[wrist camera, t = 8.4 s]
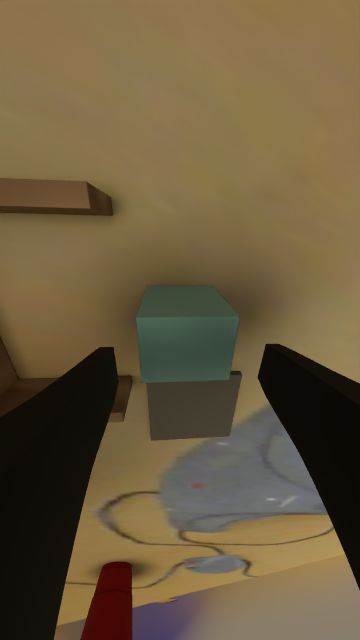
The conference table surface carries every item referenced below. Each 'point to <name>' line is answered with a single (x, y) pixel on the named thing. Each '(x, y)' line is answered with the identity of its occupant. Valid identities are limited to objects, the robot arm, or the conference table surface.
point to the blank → (185, 334)
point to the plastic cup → (111, 605)
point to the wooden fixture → (50, 198)
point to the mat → (192, 408)
